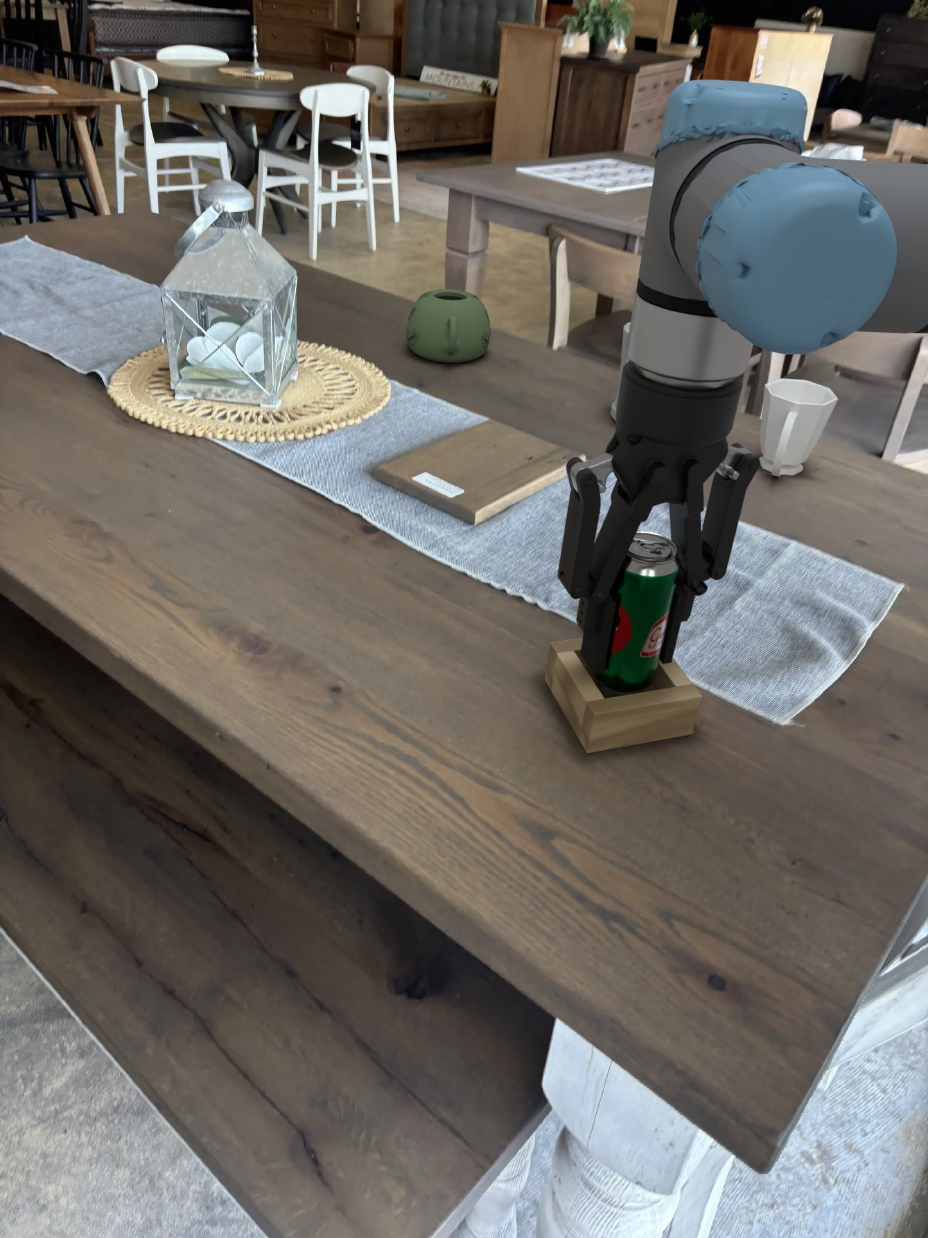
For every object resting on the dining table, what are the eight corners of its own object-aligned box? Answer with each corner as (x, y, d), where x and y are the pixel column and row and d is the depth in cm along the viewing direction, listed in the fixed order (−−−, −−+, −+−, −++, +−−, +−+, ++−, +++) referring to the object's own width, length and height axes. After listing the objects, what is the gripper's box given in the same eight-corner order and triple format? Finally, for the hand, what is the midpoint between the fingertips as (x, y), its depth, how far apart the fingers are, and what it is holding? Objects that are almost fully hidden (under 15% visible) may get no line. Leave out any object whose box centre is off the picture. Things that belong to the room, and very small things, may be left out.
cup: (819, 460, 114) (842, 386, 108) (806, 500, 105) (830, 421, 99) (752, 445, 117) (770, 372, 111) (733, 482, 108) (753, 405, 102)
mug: (404, 336, 143) (405, 280, 138) (485, 338, 145) (489, 283, 140) (407, 373, 131) (408, 313, 126) (496, 376, 132) (500, 316, 127)
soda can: (646, 704, 69) (676, 571, 62) (582, 686, 70) (604, 554, 63) (660, 667, 73) (689, 538, 66) (599, 650, 74) (622, 522, 67)
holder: (692, 734, 71) (702, 695, 69) (586, 753, 69) (594, 714, 66) (641, 664, 78) (649, 627, 76) (544, 680, 76) (549, 641, 73)
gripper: (775, 340, 62) (705, 615, 76) (528, 353, 57) (500, 645, 71) (842, 380, 56) (753, 671, 70) (573, 399, 52) (533, 707, 65)
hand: (625, 657), depth 70 cm, fingers closed on soda can, 5 cm apart
